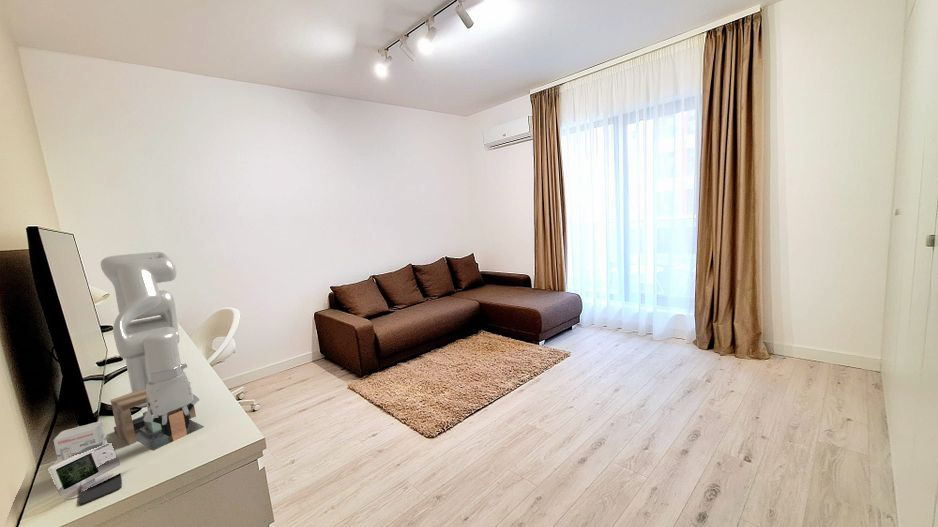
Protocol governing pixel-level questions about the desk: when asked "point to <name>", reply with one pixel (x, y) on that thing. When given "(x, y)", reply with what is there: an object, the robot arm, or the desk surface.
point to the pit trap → (135, 423)
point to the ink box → (79, 440)
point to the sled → (177, 430)
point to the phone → (101, 490)
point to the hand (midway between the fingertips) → (176, 430)
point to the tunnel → (124, 415)
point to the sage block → (152, 425)
